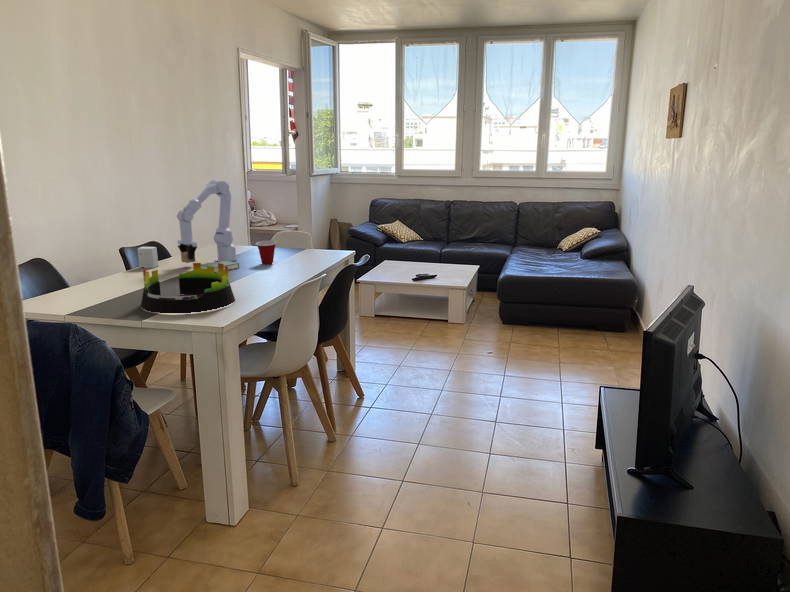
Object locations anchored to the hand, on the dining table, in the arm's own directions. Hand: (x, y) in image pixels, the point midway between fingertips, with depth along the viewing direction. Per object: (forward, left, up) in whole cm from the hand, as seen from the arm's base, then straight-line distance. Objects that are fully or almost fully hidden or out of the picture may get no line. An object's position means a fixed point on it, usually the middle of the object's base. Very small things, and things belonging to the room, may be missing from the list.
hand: (188, 258), depth 324 cm
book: (-7, +17, -5) cm, 19 cm away
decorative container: (+44, +67, -5) cm, 80 cm away
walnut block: (0, 0, -2) cm, 2 cm away
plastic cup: (-32, +25, -5) cm, 41 cm away
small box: (+14, -15, -5) cm, 21 cm away
